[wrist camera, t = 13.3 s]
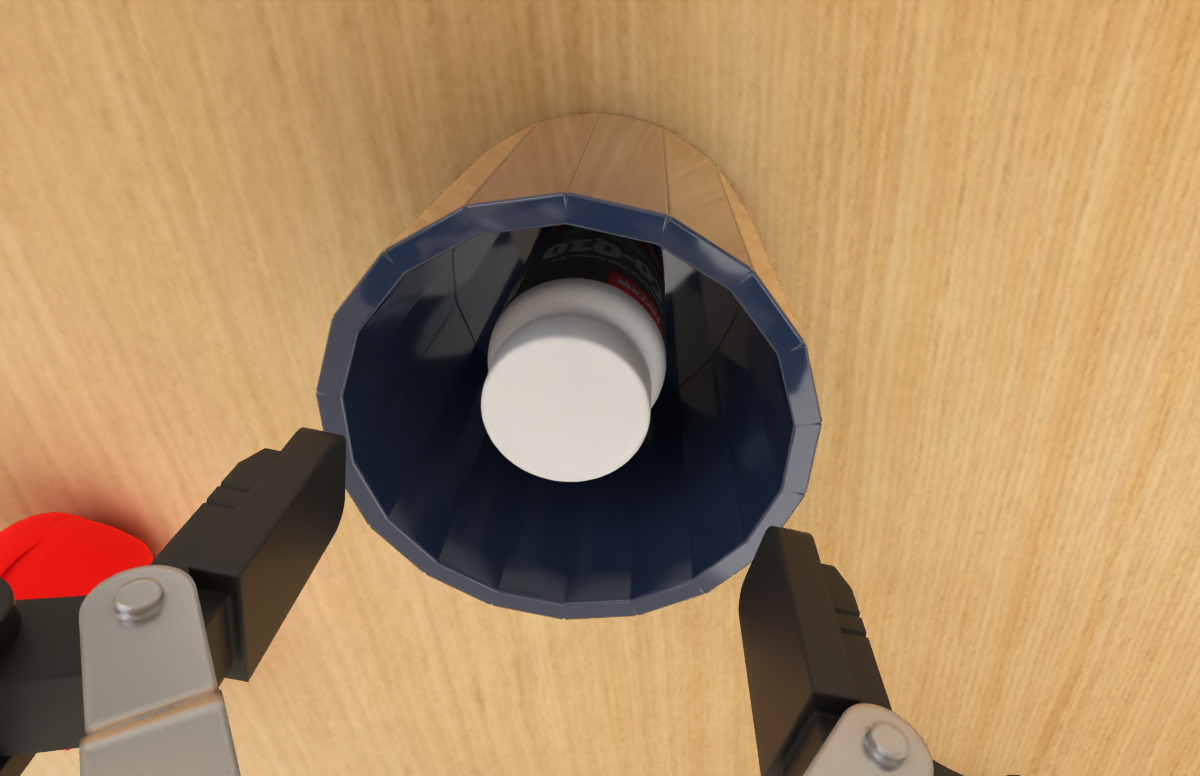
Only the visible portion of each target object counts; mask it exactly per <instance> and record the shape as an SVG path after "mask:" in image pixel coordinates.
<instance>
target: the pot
mask: <svg viewBox="0 0 1200 776" xmlns="http://www.w3.org/2000/svg"><path fill="white" fill-rule="evenodd" d="M565 224H566V225H571V226H575V227H580V228H584V229H589V230H593V231H598V232H602V233H607V234H611V235H616V236H620V237H625V238H629V239H634V240H638V241H643V242H647V243H649V244H650V245H651V246H652V248H653V249H654V251H655V252H656V254H657V256H658V258H659V261H660V263H661V266H662V270H663V274H664V281H665V325H666V372H665V378H664V382H663V386H662V389H661V391H660V394H659V396H658V398H657V400H656V402H655V404H654V405H653V407H652V408H651V413H650V424H649V427H648V431H647V434H646V437H645V439H644V441H643V443H642V444H641V446H640V448H639V449H638V451H637V452H636V453H635V454H634V455H633V456H632V458H631V459H630V460H629V461H628V462H626V463H625V464H624V465H623V466H621V467H620V468H618V469H616V470H615V471H613V472H611V473H609V474H607V475H604V476H602V477H599V478H596V479H591V480H587V481H579V482H563V481H554V480H549V479H545V478H542V477H538V476H536V475H533V474H531V473H529V472H527V471H524V470H523V469H521V468H519V467H518V466H516V465H515V464H513V463H512V462H511V461H510V460H508V459H507V458H506V457H505V456H504V455H503V454H502V453H501V452H500V451H499V450H498V448H497V447H496V446H495V445H494V443H493V442H492V440H491V439H490V437H489V435H488V433H487V430H486V428H485V425H484V422H483V419H482V412H481V396H482V390H483V386H484V383H485V380H486V377H487V375H488V348H489V342H490V338H491V334H492V331H493V329H494V326H495V324H496V321H497V319H498V317H499V315H500V313H501V311H502V309H503V307H504V305H505V303H506V301H507V299H508V297H509V294H510V292H511V290H512V289H513V286H514V284H515V282H516V280H517V278H518V276H519V274H520V272H521V270H522V268H523V266H524V264H525V262H526V260H527V258H528V256H529V254H530V253H531V251H532V249H533V248H534V246H535V245H536V244H537V242H538V241H539V240H540V239H541V238H542V237H543V236H544V235H545V234H546V233H547V232H548V231H550V230H551V229H552V228H554V227H556V226H557V225H565ZM316 396H317V401H318V406H319V411H320V416H321V421H322V426H323V431H324V432H329V433H333V434H338V435H343V436H344V437H345V440H346V473H345V489H346V490H347V492H348V493H349V495H350V497H351V498H352V500H353V501H354V503H355V505H356V506H357V508H358V509H359V511H360V513H361V514H362V516H363V517H364V519H365V521H366V522H367V524H368V525H370V527H371V528H372V529H373V530H374V531H375V532H376V533H377V534H379V535H380V536H381V537H382V538H383V539H384V540H386V541H387V542H388V543H389V544H390V545H391V546H393V547H394V548H395V549H396V550H397V551H398V552H400V553H401V554H402V555H403V556H404V557H405V558H407V559H408V560H409V561H410V562H411V563H412V564H414V565H415V566H416V567H417V568H418V569H419V570H421V571H422V572H423V573H426V575H428V576H430V577H432V578H434V579H436V580H438V581H441V582H443V583H445V584H447V585H449V586H451V587H453V588H455V589H457V590H460V591H462V592H464V593H466V594H468V595H470V596H472V597H474V598H476V599H479V600H481V601H483V602H485V603H487V604H490V605H491V604H492V605H493V606H496V607H501V608H506V609H512V610H517V611H522V612H527V613H532V614H537V615H542V616H547V617H552V618H557V619H563V618H564V619H566V620H569V619H588V618H608V617H627V616H636V614H637V615H642V614H645V613H648V612H651V611H654V610H657V609H660V608H663V607H666V606H669V605H672V604H676V603H679V602H682V601H685V600H688V599H691V598H694V597H697V596H700V595H703V594H705V593H708V592H710V591H711V590H713V589H714V588H715V587H717V586H718V585H720V584H721V583H723V582H724V581H725V580H727V579H728V578H730V577H731V576H733V575H734V574H736V573H737V572H738V571H740V570H741V569H743V568H744V567H746V566H747V565H748V564H750V563H751V562H752V561H753V559H754V556H755V554H756V552H757V550H758V547H759V545H760V543H761V540H762V538H763V536H764V534H765V532H766V530H767V528H768V527H770V526H777V527H781V528H782V527H783V526H784V525H785V523H786V522H787V520H788V519H789V518H790V516H791V515H792V513H793V512H794V510H795V509H796V508H797V506H798V505H799V503H800V502H801V501H802V499H803V498H804V496H805V493H806V492H807V488H808V483H809V479H810V474H811V470H812V465H813V461H814V456H815V452H816V447H817V443H818V439H819V434H820V430H821V425H822V424H821V422H822V417H821V412H820V407H819V402H818V398H817V393H816V388H815V383H814V378H813V373H812V368H811V364H810V359H809V354H808V349H807V345H806V343H805V340H804V338H803V336H802V334H801V331H800V329H799V327H798V324H797V322H796V320H795V318H794V315H793V313H792V311H791V308H790V306H789V304H788V302H787V299H786V297H785V295H784V292H783V290H782V288H781V286H780V283H779V281H778V279H777V276H776V274H775V272H774V270H773V267H772V265H771V263H770V260H769V258H768V256H767V254H766V251H765V249H764V247H763V244H762V242H761V240H760V237H759V235H758V233H757V231H756V228H755V226H754V224H753V221H752V219H751V217H750V215H749V213H748V210H747V209H746V207H745V206H744V204H743V203H742V202H741V200H740V199H739V197H738V195H737V194H736V192H735V191H734V189H733V188H732V186H731V184H730V183H729V181H728V180H727V178H726V177H725V176H724V175H723V174H722V172H721V171H720V169H719V168H718V166H717V165H716V164H715V163H714V162H713V161H712V160H710V159H709V158H708V157H706V156H705V155H704V154H703V153H702V152H701V151H699V150H698V149H697V148H696V147H695V146H693V145H692V144H690V143H689V142H687V141H686V140H684V139H683V138H681V137H679V136H678V135H676V134H675V133H673V132H670V131H668V130H666V129H665V128H662V127H661V126H658V125H655V124H653V123H650V122H646V121H643V120H640V119H636V118H633V117H628V116H622V115H615V114H609V113H582V114H574V115H565V116H560V117H557V118H553V119H549V120H545V121H540V122H538V123H534V124H533V125H531V126H529V127H527V128H525V129H523V130H520V131H519V132H517V133H515V134H514V135H512V136H511V137H509V138H507V139H506V140H504V141H502V142H501V143H500V144H498V145H496V146H495V147H493V148H491V149H489V150H488V151H486V152H485V153H484V154H483V155H482V156H481V157H480V158H479V159H478V160H477V161H475V162H474V163H473V164H472V165H471V166H470V167H469V168H468V169H467V170H466V171H465V172H464V173H463V174H462V175H461V176H460V177H459V178H458V179H457V180H456V181H455V182H454V183H453V184H452V185H451V186H450V187H448V188H447V189H446V190H445V191H444V192H443V193H442V194H441V195H440V196H439V197H438V198H437V199H436V200H435V201H434V202H433V203H432V204H431V205H430V206H429V207H428V208H427V209H426V210H425V211H424V212H422V213H421V214H420V215H419V216H418V217H417V218H416V219H415V220H414V221H413V222H412V223H411V224H410V225H409V226H408V227H407V228H406V229H405V230H404V231H403V232H402V233H401V234H400V235H399V236H398V237H397V238H395V239H394V240H393V241H392V242H391V243H390V244H389V245H388V246H387V247H386V248H385V249H384V250H383V251H382V252H381V253H380V254H379V256H378V257H377V258H376V260H375V261H374V262H373V264H372V265H371V266H370V268H369V269H368V270H367V271H366V273H365V274H364V275H363V277H362V278H361V279H360V281H359V282H358V283H357V285H356V286H355V287H354V289H353V290H352V291H351V293H350V294H349V295H348V297H347V298H346V299H345V300H344V302H343V303H342V304H341V306H340V307H339V308H338V310H337V311H336V312H335V314H334V317H333V319H332V320H331V325H330V329H329V334H328V338H327V343H326V348H325V352H324V357H323V361H322V366H321V371H320V375H319V380H318V384H317V393H316Z"/></svg>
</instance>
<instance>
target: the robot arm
mask: <svg viewBox="0 0 1200 776" xmlns="http://www.w3.org/2000/svg"><path fill="white" fill-rule="evenodd" d="M345 473H346V440H345V437H344V436H343V435H338V434H333V433H329V432H324V431H319V430H314V429H309V428H304V427H302V428H300V429H299V430H298V431H297V432H296V433H295V434H294V436H293V437H292V438H291V439H290V440H289V442H288V443H287V444H286V445H285V447H284V448H283V449H282V450H281V451H276V450H271V449H267V448H265V449H263V450H261V451H259V452H257V453H256V454H254V455H252V456H250V457H248V458H247V459H245V460H243V461H241V462H239V463H238V464H237V465H236V466H235V468H234V469H233V470H232V471H231V472H230V473H229V474H228V476H227V477H226V478H225V479H224V480H223V481H222V482H221V486H220V487H217V488H216V489H215V490H214V492H213V493H212V494H211V495H210V496H209V497H208V498H207V502H206V503H203V504H202V505H201V506H200V508H199V509H198V510H197V511H196V512H195V513H194V514H193V515H192V517H191V518H190V519H189V520H188V521H187V522H186V523H185V525H184V526H183V527H182V528H181V529H180V530H179V531H178V533H177V534H176V535H175V536H174V537H173V538H172V539H171V541H170V542H169V543H168V544H167V545H166V546H165V547H164V549H163V550H162V551H161V552H160V553H159V554H158V555H157V557H156V558H155V559H154V560H153V561H152V562H151V563H150V564H149V565H146V566H140V567H135V568H131V569H128V570H125V571H122V572H120V573H117V574H115V575H113V576H111V577H109V578H107V579H106V580H104V581H103V582H101V583H100V584H98V585H97V586H96V587H95V588H94V589H92V590H91V592H90V593H89V594H87V595H80V596H70V597H54V598H38V599H22V600H15V597H14V594H13V591H12V588H11V586H10V585H9V584H8V582H7V581H5V580H4V579H2V578H0V776H20V775H21V773H22V772H23V771H24V769H25V768H26V767H27V765H28V764H29V763H30V761H31V760H32V758H33V757H34V756H35V754H36V753H39V752H47V751H55V750H63V749H71V748H79V754H80V776H241V775H240V770H239V766H238V761H237V757H236V752H235V748H234V743H233V739H232V734H231V729H230V725H229V720H228V716H227V711H226V707H225V703H224V698H223V695H222V692H221V690H219V688H218V687H219V686H220V684H221V682H222V681H223V679H224V678H230V679H235V680H241V681H246V682H248V681H249V679H250V678H251V676H252V674H253V672H254V671H255V669H256V667H257V666H258V664H259V662H260V660H261V659H262V657H263V655H264V654H265V652H266V650H267V649H268V647H269V645H270V643H271V642H272V640H273V638H274V637H275V635H276V633H277V631H278V630H279V628H280V626H281V625H282V623H283V621H284V619H285V618H286V616H287V614H288V613H289V611H290V609H291V608H292V606H293V604H294V602H295V601H296V599H297V597H298V596H299V594H300V592H301V590H302V589H303V587H304V585H305V584H306V582H307V580H308V578H309V577H310V575H311V573H312V572H313V570H314V568H315V567H316V565H317V563H318V561H319V560H320V558H321V556H322V555H323V553H324V551H325V549H326V548H327V546H328V544H329V543H330V541H331V539H332V537H333V536H334V534H335V532H336V530H337V528H338V525H339V523H340V520H341V517H342V513H343V508H344V502H345ZM859 614H860V612H859V609H858V606H857V603H856V600H855V597H854V594H853V591H852V589H851V588H850V586H849V585H848V584H847V582H846V581H845V580H844V578H843V577H842V576H841V574H840V573H839V572H838V571H837V569H836V568H835V567H834V566H830V565H826V564H821V562H820V559H819V555H818V552H817V548H816V545H815V542H814V539H813V537H812V535H811V534H809V533H806V532H801V531H796V530H791V529H786V528H781V527H777V526H770V527H768V528H767V530H766V532H765V534H764V536H763V538H762V540H761V543H760V545H759V547H758V550H757V552H756V554H755V556H754V559H753V561H752V563H751V566H750V568H749V570H748V573H747V575H746V577H745V579H744V582H743V585H742V588H741V593H740V599H739V619H740V626H741V634H742V641H743V648H744V655H745V663H746V670H747V677H748V685H749V692H750V699H751V706H752V714H753V721H754V728H755V735H756V743H757V750H758V757H759V765H760V772H761V776H963V775H961V774H959V773H957V772H955V771H953V770H951V769H948V768H946V767H945V766H943V765H941V764H939V763H937V762H936V761H934V760H933V759H932V757H931V754H930V752H929V750H928V747H927V745H926V744H925V742H924V741H923V739H922V737H921V736H920V735H919V734H918V733H917V731H916V730H915V729H914V728H913V727H912V726H911V725H910V724H909V723H908V722H907V721H905V720H904V719H903V718H902V717H900V716H899V715H897V714H896V713H894V712H893V711H892V709H891V706H890V703H889V700H888V697H887V694H886V691H885V688H884V685H883V682H882V679H881V676H880V673H879V670H878V666H877V663H876V660H875V657H874V654H873V651H872V648H871V645H870V642H869V639H868V638H866V630H865V627H864V624H863V621H862V618H859ZM1008 776H1019V775H1008Z"/></svg>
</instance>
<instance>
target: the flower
mask: <svg viewBox="0 0 1200 776" xmlns="http://www.w3.org/2000/svg"><path fill="white" fill-rule="evenodd" d="M152 561H153V556H152V554H151V552H150V550H149V548H148V547H147V545H146V544H145V543H143V542H142V541H141V540H139V539H137V538H135V537H133V536H132V535H130V534H128V533H126V532H124V531H122V530H119V529H117V528H114V527H112V526H109V525H106V524H103V523H99V522H96V521H92V520H89V519H86V518H83V517H80V516H76V515H72V514H68V513H58V512H51V513H43V514H38V515H34V516H31V517H28V518H26V519H23V520H21V521H19V522H16V523H15V524H13V525H11V526H9V527H7V528H6V529H4V530H3V531H1V532H0V578H2V579H4V580H5V581H7V582H8V584H9V585H10V586H11V588H12V591H13V594H14V597H15V600H22V599H38V598H54V597H70V596H80V595H87V594H89V593H90V592H91V590H92V589H94V588H95V587H96V586H97V585H98V584H100V583H101V582H103V581H104V580H106V579H107V578H109V577H111V576H113V575H115V574H117V573H120V572H122V571H125V570H128V569H131V568H135V567H140V566H146V565H149V564H150V563H151V562H152ZM65 750H70V749H65Z"/></svg>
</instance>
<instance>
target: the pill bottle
mask: <svg viewBox="0 0 1200 776" xmlns="http://www.w3.org/2000/svg"><path fill="white" fill-rule="evenodd" d="M665 372H666V325H665V281H664V274H663V270H662V266H661V263H660V261H659V258H658V256H657V254H656V252H655V251H654V249H653V248H652V246H651V245H650V244H649V243H647V242H643V241H638V240H634V239H629V238H625V237H620V236H616V235H611V234H607V233H602V232H598V231H593V230H589V229H584V228H580V227H575V226H571V225H566V224H565V225H557V226H556V227H554V228H552V229H551V230H550V231H548V232H547V233H546V234H545V235H544V236H543V237H542V238H541V239H540V240H539V241H538V242H537V244H536V245H535V246H534V248H533V249H532V251H531V253H530V254H529V256H528V258H527V260H526V262H525V264H524V266H523V268H522V270H521V272H520V274H519V276H518V278H517V280H516V282H515V284H514V286H513V289H512V290H511V292H510V294H509V297H508V299H507V301H506V303H505V305H504V307H503V309H502V311H501V313H500V315H499V317H498V319H497V321H496V324H495V326H494V329H493V331H492V334H491V338H490V342H489V348H488V375H487V377H486V380H485V383H484V386H483V390H482V396H481V412H482V419H483V422H484V425H485V428H486V430H487V433H488V435H489V437H490V439H491V440H492V442H493V443H494V445H495V446H496V447H497V448H498V450H499V451H500V452H501V453H502V454H503V455H504V456H505V457H506V458H507V459H508V460H510V461H511V462H512V463H513V464H515V465H516V466H518V467H519V468H521V469H523V470H524V471H527V472H529V473H531V474H533V475H536V476H538V477H542V478H545V479H549V480H554V481H563V482H579V481H587V480H591V479H596V478H599V477H602V476H604V475H607V474H609V473H611V472H613V471H615V470H616V469H618V468H620V467H621V466H623V465H624V464H625V463H626V462H628V461H629V460H630V459H631V458H632V456H633V455H634V454H635V453H636V452H637V451H638V449H639V448H640V446H641V444H642V443H643V441H644V439H645V437H646V434H647V431H648V427H649V424H650V413H651V408H652V407H653V405H654V404H655V402H656V400H657V398H658V396H659V394H660V391H661V389H662V386H663V382H664V378H665Z"/></svg>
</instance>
